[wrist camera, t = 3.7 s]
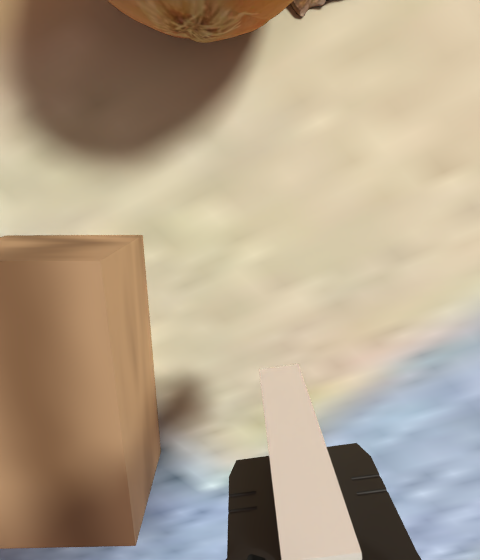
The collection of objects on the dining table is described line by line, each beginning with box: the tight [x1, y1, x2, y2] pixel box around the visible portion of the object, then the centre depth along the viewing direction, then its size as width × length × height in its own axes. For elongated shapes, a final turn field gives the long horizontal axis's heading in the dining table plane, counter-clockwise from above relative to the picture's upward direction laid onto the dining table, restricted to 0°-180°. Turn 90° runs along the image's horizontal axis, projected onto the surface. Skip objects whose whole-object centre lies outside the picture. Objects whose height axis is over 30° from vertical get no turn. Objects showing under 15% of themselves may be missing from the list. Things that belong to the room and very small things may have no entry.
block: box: [0, 235, 161, 549], centre depth 17 cm, size 7×14×6 cm, turn 0°
